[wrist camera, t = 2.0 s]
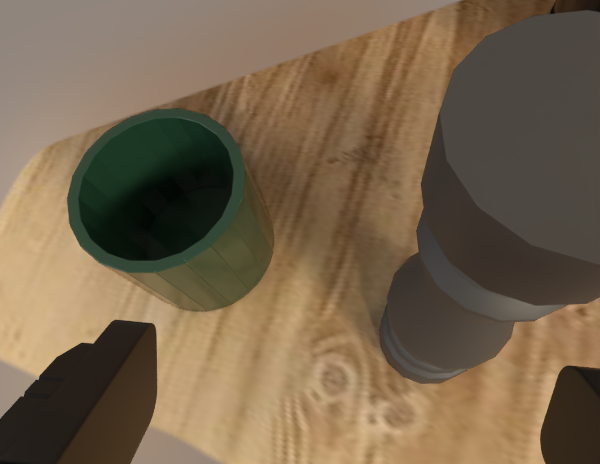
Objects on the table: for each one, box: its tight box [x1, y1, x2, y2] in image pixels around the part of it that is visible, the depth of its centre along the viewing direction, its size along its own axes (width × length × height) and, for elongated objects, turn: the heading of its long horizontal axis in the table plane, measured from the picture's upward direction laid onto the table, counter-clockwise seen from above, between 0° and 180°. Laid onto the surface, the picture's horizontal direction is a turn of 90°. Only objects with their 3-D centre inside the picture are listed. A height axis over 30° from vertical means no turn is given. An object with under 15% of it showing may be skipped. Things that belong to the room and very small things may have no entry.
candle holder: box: [379, 10, 600, 384], centre depth 21 cm, size 6×6×25 cm
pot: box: [67, 108, 274, 312], centre depth 32 cm, size 11×11×10 cm
